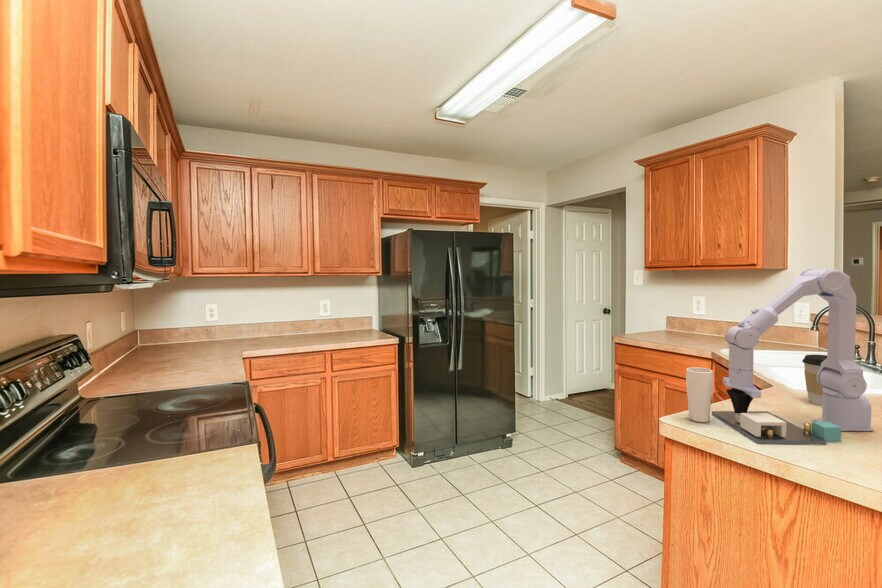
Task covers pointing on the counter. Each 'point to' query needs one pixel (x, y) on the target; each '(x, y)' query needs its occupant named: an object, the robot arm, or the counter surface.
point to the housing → (760, 423)
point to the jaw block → (827, 431)
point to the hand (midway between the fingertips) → (740, 415)
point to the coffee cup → (813, 378)
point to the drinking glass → (699, 393)
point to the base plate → (767, 435)
